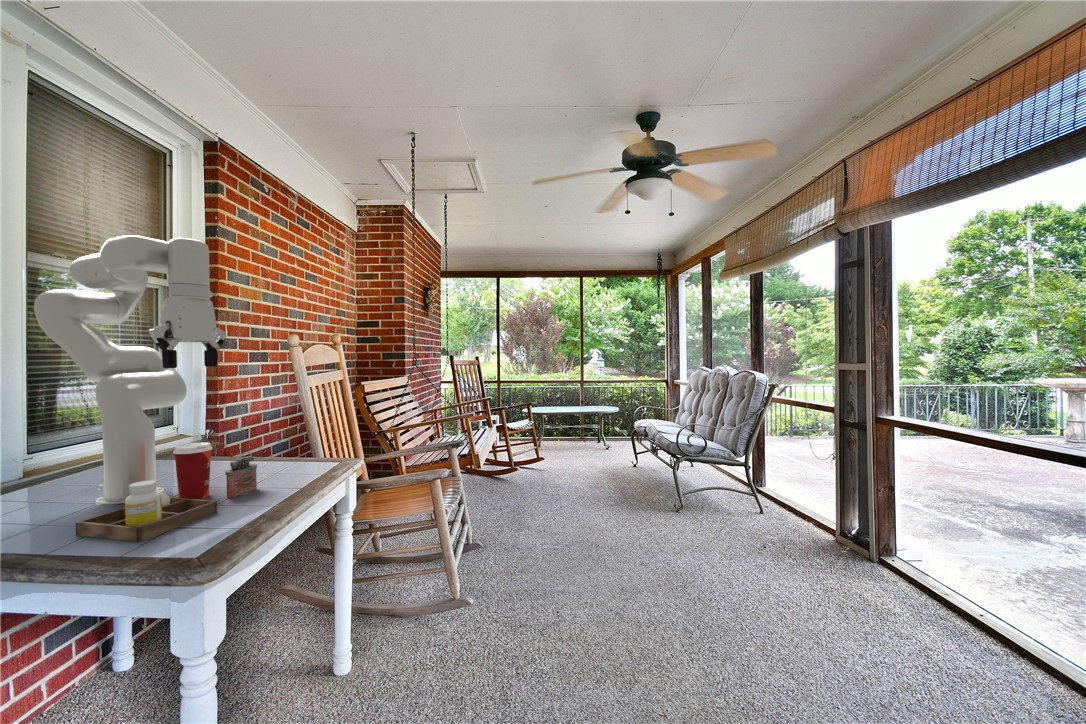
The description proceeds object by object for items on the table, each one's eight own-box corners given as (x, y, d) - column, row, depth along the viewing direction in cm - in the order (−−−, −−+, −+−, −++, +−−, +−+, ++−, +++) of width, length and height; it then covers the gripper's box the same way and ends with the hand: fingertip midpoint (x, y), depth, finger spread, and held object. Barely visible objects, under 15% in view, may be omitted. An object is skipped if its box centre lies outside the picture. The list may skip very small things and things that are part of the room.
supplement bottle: (140, 526, 91) (139, 479, 90) (169, 525, 91) (168, 478, 91) (117, 538, 85) (116, 487, 85) (148, 536, 86) (147, 486, 86)
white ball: (134, 518, 95) (133, 495, 95) (159, 509, 100) (158, 488, 100) (152, 519, 94) (152, 496, 94) (176, 511, 99) (176, 489, 99)
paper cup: (220, 498, 111) (219, 443, 110) (185, 508, 104) (183, 449, 104) (202, 494, 114) (201, 440, 114) (166, 504, 107) (165, 446, 107)
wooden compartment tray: (76, 539, 87) (75, 522, 87) (160, 511, 102) (160, 496, 102) (139, 547, 83) (138, 529, 83) (217, 516, 99) (216, 501, 99)
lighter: (233, 503, 108) (233, 462, 107) (222, 502, 108) (221, 461, 108) (261, 492, 116) (260, 454, 115) (250, 491, 116) (249, 454, 116)
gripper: (211, 298, 112) (213, 365, 112) (135, 289, 95) (137, 368, 96) (236, 297, 110) (237, 366, 111) (163, 288, 93) (165, 368, 94)
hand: (191, 367), depth 103 cm, fingers open, 9 cm apart
